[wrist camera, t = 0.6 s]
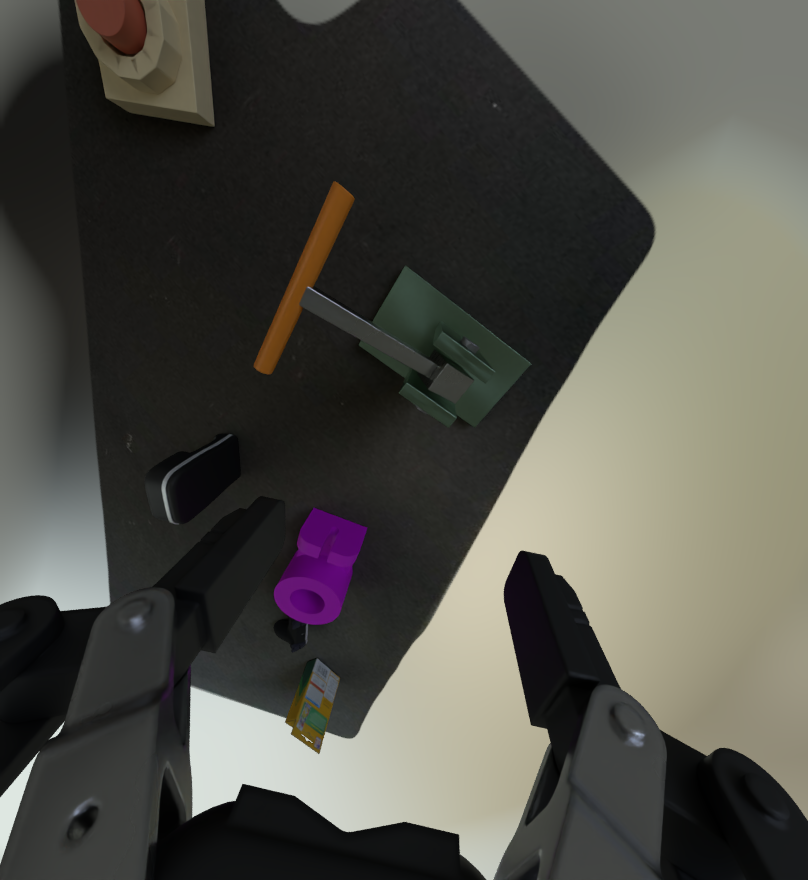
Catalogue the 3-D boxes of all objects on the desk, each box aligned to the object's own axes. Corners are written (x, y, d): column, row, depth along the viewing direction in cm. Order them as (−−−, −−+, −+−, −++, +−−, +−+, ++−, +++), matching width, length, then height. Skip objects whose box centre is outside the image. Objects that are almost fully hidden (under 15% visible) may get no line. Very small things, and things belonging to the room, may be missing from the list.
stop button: (93, -23, 21) (64, -49, 20) (141, -15, 21) (117, -41, 19) (106, 51, 23) (81, 32, 21) (151, 58, 23) (129, 39, 21)
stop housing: (100, -66, 23) (35, -136, 19) (200, -50, 22) (155, -118, 19) (130, 113, 27) (82, 83, 23) (215, 127, 27) (180, 99, 23)
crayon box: (306, 661, 60) (278, 736, 50) (317, 657, 59) (291, 733, 49) (329, 680, 62) (307, 757, 52) (340, 677, 61) (320, 754, 51)
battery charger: (211, 427, 40) (131, 471, 30) (239, 433, 40) (168, 479, 29) (216, 471, 43) (146, 525, 32) (242, 477, 43) (179, 532, 32)
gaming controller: (296, 615, 58) (311, 648, 53) (272, 628, 55) (286, 663, 51) (297, 578, 53) (314, 609, 49) (271, 589, 51) (286, 624, 46)
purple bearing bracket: (343, 595, 51) (331, 632, 45) (288, 576, 50) (268, 610, 45) (372, 529, 44) (362, 562, 38) (308, 505, 44) (289, 536, 38)
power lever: (254, 356, 18) (251, 374, 16) (330, 180, 14) (337, 180, 12) (414, 424, 25) (424, 442, 24) (495, 321, 21) (513, 333, 20)
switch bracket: (360, 343, 33) (313, 368, 21) (406, 266, 30) (382, 239, 17) (473, 424, 36) (492, 489, 23) (528, 361, 32) (584, 398, 20)
